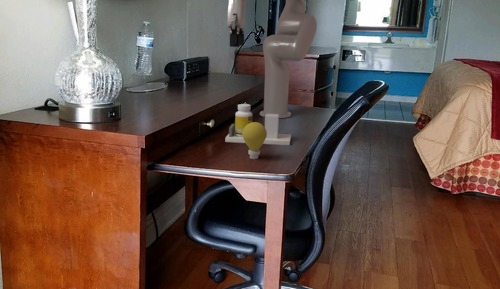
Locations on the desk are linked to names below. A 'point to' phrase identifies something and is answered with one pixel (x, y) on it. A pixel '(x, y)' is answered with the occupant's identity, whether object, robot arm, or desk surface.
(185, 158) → the desk surface
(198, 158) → the desk surface
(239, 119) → the supplement bottle
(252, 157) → the light bulb
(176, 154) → the desk surface
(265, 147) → the desk surface
